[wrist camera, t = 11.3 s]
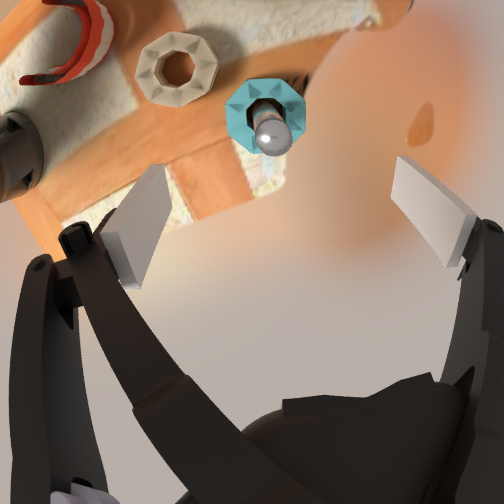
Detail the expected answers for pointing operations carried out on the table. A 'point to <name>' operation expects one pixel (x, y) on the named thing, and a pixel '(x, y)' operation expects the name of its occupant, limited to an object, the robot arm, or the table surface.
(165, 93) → the bead birch
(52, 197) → the table surface
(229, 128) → the bead teal
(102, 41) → the toy
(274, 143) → the capped vial
